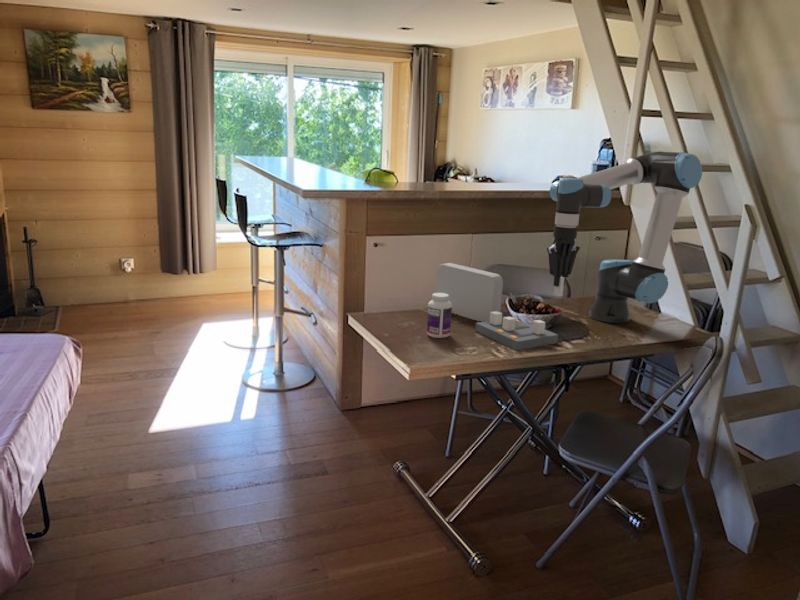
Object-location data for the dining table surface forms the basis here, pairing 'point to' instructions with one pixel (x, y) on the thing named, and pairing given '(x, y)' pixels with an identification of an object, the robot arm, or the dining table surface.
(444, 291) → the rounded white slab
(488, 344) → the dining table surface
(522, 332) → the switch board
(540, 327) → the switch
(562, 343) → the dining table surface
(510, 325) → the switch middle
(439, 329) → the pill bottle
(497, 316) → the switch
